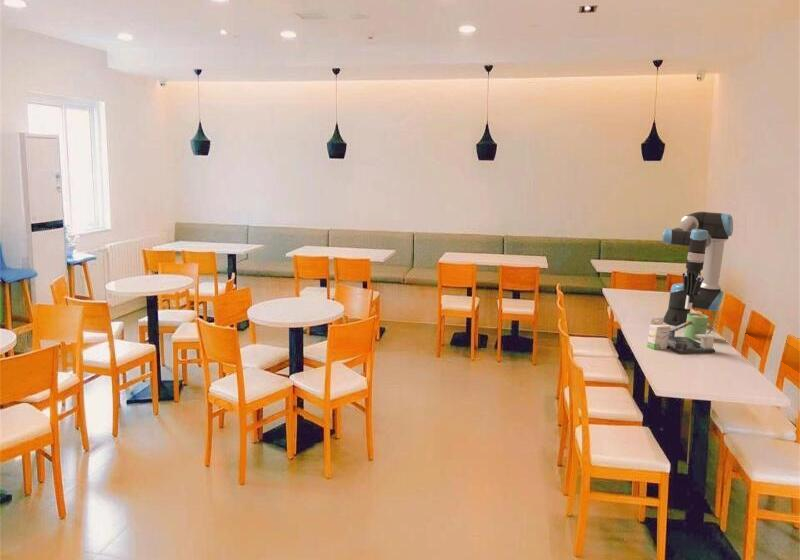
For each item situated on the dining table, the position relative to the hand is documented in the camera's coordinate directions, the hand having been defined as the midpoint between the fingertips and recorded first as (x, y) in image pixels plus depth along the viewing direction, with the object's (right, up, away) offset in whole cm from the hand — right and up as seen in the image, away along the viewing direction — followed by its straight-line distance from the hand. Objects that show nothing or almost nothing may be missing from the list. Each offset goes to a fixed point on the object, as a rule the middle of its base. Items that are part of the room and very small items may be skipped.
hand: (688, 308), depth 307 cm
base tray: (0, -19, +7) cm, 21 cm away
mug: (+16, -17, +24) cm, 34 cm away
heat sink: (-3, -18, +6) cm, 19 cm away
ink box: (-14, -20, +3) cm, 24 cm away
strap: (-2, -10, +5) cm, 12 cm away
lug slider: (+7, -19, 0) cm, 21 cm away
